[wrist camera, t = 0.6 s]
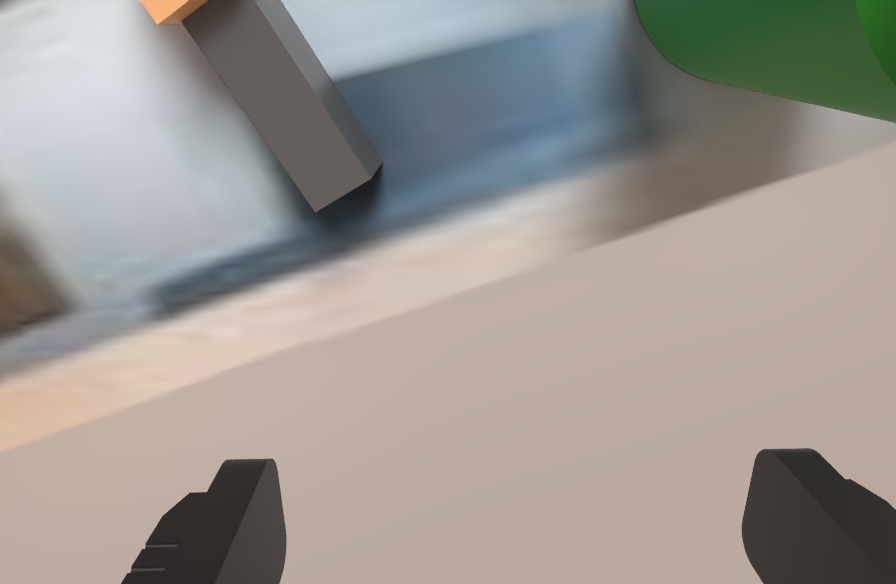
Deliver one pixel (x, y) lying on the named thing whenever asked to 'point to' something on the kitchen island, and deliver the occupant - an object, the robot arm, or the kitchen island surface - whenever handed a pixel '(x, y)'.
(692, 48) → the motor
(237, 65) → the plug
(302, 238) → the kitchen island surface
